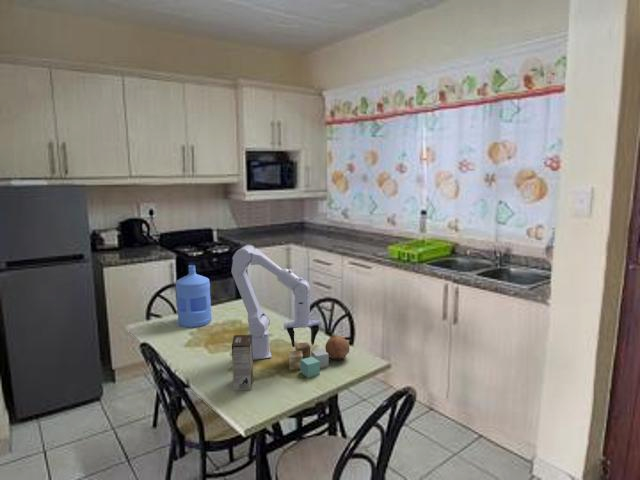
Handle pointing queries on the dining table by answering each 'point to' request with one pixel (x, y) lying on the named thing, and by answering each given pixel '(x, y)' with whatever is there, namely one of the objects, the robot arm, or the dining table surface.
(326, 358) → the grey cube
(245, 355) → the coffee box
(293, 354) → the maple cube
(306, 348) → the walnut cube
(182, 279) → the water jug
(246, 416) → the dining table surface
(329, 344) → the onion
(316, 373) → the teal cube
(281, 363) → the dining table surface
